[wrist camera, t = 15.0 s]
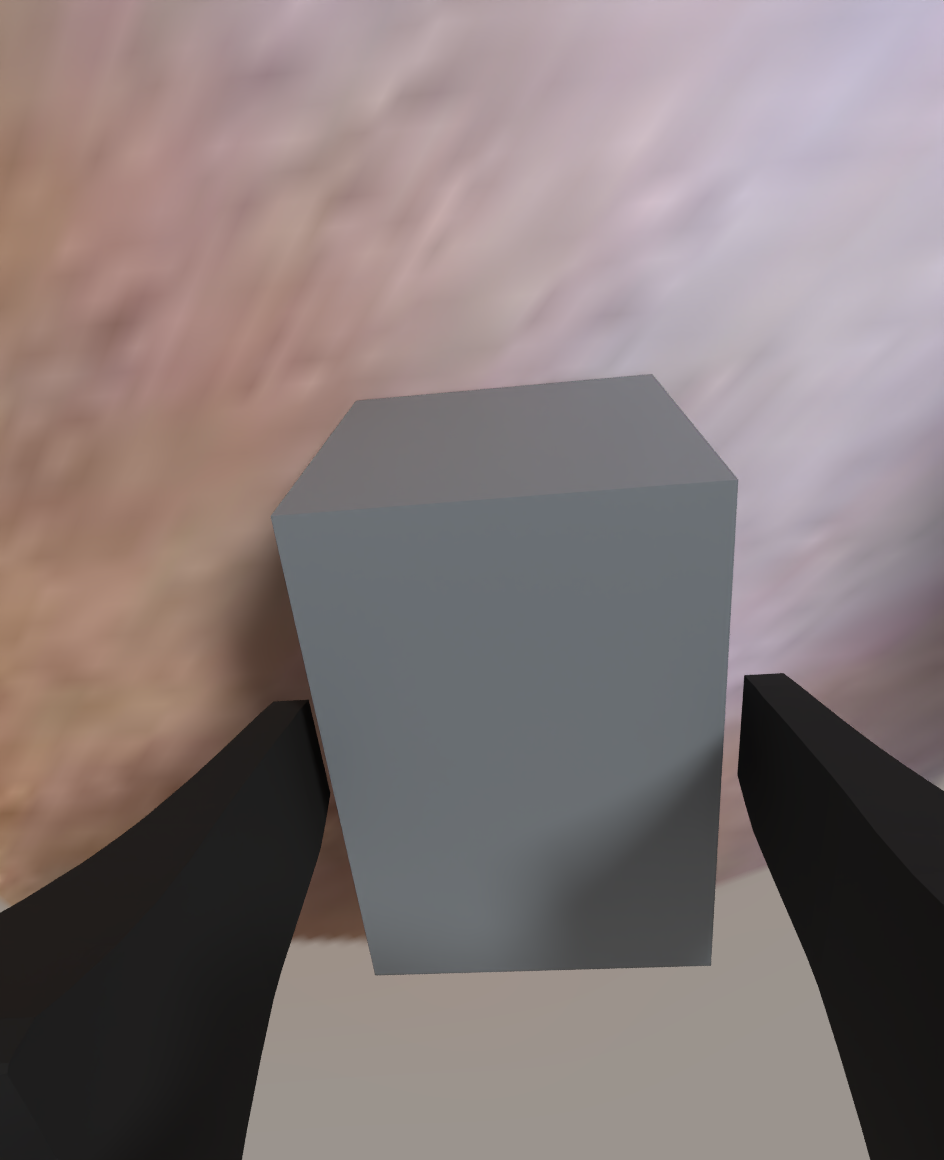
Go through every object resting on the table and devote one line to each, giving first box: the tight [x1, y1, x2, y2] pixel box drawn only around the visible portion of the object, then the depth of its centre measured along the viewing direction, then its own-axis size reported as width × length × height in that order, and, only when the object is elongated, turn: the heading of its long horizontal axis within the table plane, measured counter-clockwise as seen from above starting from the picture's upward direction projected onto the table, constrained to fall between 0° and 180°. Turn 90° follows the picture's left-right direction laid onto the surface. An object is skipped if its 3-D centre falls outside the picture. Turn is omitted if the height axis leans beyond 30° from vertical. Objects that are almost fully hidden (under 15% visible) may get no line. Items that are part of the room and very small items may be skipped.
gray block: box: [271, 374, 738, 975], centre depth 15 cm, size 6×9×6 cm, turn 5°
